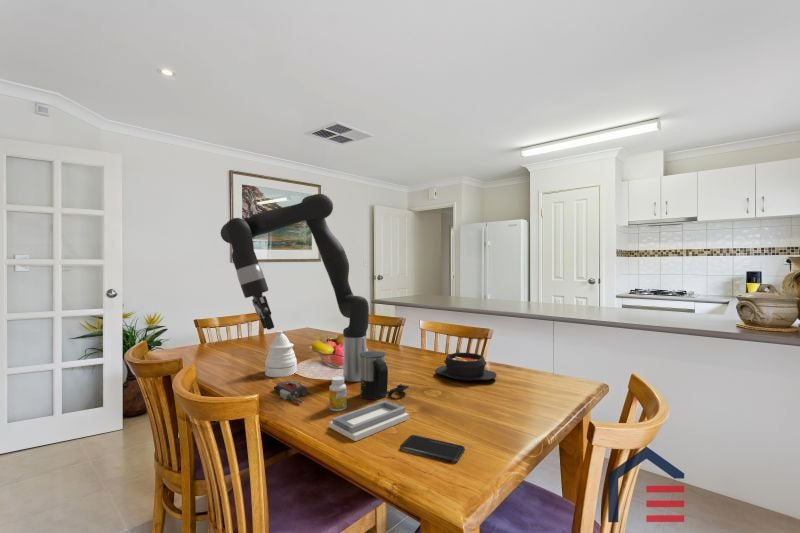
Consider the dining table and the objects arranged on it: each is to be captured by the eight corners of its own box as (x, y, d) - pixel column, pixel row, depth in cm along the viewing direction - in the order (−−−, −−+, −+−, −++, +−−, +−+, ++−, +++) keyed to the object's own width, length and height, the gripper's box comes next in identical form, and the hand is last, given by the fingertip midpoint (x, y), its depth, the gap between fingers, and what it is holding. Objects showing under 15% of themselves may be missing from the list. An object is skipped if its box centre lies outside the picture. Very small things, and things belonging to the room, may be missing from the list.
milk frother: (354, 395, 135) (353, 353, 134) (385, 384, 146) (385, 346, 146) (382, 406, 125) (382, 360, 125) (414, 393, 136) (413, 352, 136)
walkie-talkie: (268, 392, 139) (298, 407, 125) (268, 380, 139) (298, 393, 125) (289, 387, 145) (320, 399, 131) (289, 375, 145) (320, 387, 131)
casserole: (501, 375, 158) (501, 354, 158) (490, 388, 142) (490, 365, 141) (444, 367, 170) (444, 348, 169) (427, 379, 153) (427, 358, 153)
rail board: (382, 408, 123) (382, 398, 123) (408, 419, 114) (408, 409, 114) (329, 427, 109) (329, 416, 109) (355, 441, 100) (355, 429, 100)
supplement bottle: (327, 406, 124) (327, 376, 124) (344, 404, 126) (343, 374, 126) (331, 412, 119) (331, 381, 119) (348, 409, 121) (348, 379, 121)
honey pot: (291, 377, 156) (291, 333, 156) (260, 377, 156) (260, 333, 156) (300, 368, 169) (300, 327, 169) (271, 368, 169) (271, 327, 169)
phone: (455, 461, 89) (398, 446, 96) (455, 466, 89) (398, 451, 96) (466, 446, 96) (412, 433, 103) (466, 450, 96) (412, 438, 103)
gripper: (267, 275, 117) (284, 324, 118) (261, 278, 130) (276, 323, 131) (242, 282, 114) (260, 334, 115) (238, 285, 127) (254, 331, 127)
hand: (268, 328), depth 123 cm, fingers open, 8 cm apart
